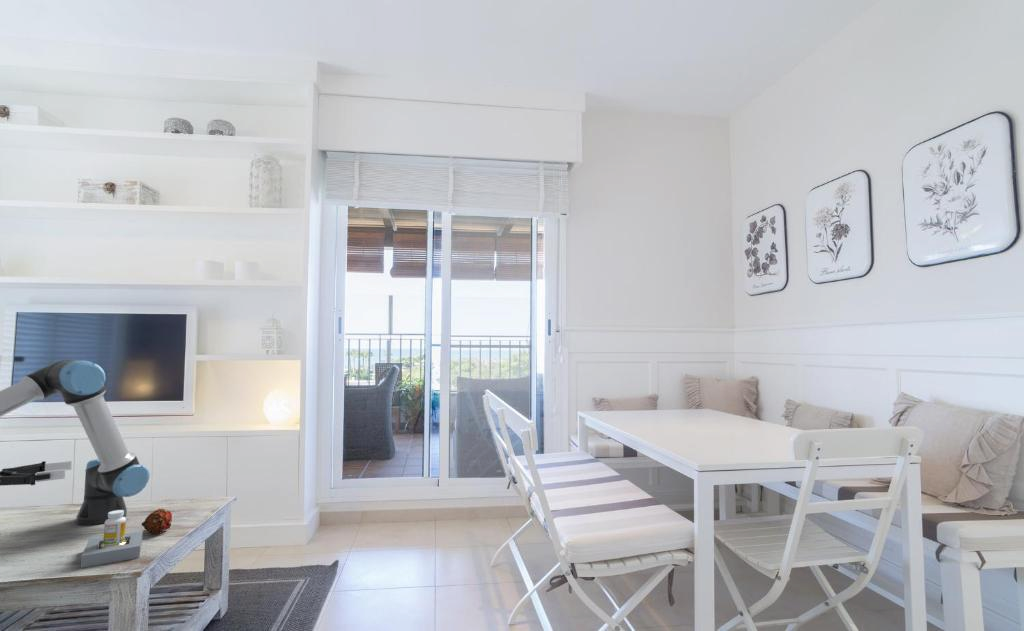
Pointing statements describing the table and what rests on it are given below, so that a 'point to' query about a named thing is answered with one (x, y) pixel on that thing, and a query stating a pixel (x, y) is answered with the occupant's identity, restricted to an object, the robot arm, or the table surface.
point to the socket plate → (111, 550)
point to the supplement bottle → (114, 528)
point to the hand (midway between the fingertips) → (68, 469)
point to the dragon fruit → (158, 521)
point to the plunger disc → (115, 545)
